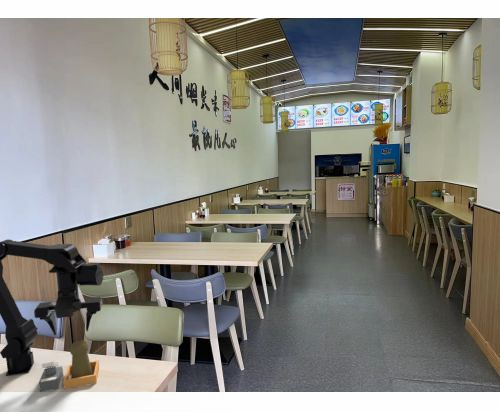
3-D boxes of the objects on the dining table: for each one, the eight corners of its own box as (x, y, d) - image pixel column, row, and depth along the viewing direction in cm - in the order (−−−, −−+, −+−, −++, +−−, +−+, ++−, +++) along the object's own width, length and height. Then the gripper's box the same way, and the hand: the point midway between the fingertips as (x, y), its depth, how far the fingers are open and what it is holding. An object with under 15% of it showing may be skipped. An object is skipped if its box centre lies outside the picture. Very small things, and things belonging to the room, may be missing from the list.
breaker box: (39, 392, 110) (37, 376, 110) (45, 378, 117) (43, 363, 116) (58, 388, 112) (57, 373, 111) (63, 375, 119) (61, 360, 118)
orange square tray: (64, 389, 111) (63, 381, 111) (69, 372, 120) (68, 365, 119) (96, 383, 114) (95, 375, 114) (99, 367, 122) (98, 360, 122)
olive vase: (85, 383, 113) (81, 348, 112) (66, 381, 114) (63, 347, 113) (96, 371, 119) (93, 338, 118) (79, 370, 120) (75, 337, 119)
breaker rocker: (41, 367, 111) (42, 363, 111) (47, 368, 116) (47, 364, 116) (53, 365, 112) (53, 361, 112) (57, 366, 117) (57, 362, 117)
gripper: (26, 298, 109) (31, 349, 111) (96, 291, 113) (99, 340, 115) (37, 285, 119) (41, 332, 122) (101, 279, 124) (104, 325, 126)
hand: (71, 332), depth 121 cm, fingers open, 9 cm apart
